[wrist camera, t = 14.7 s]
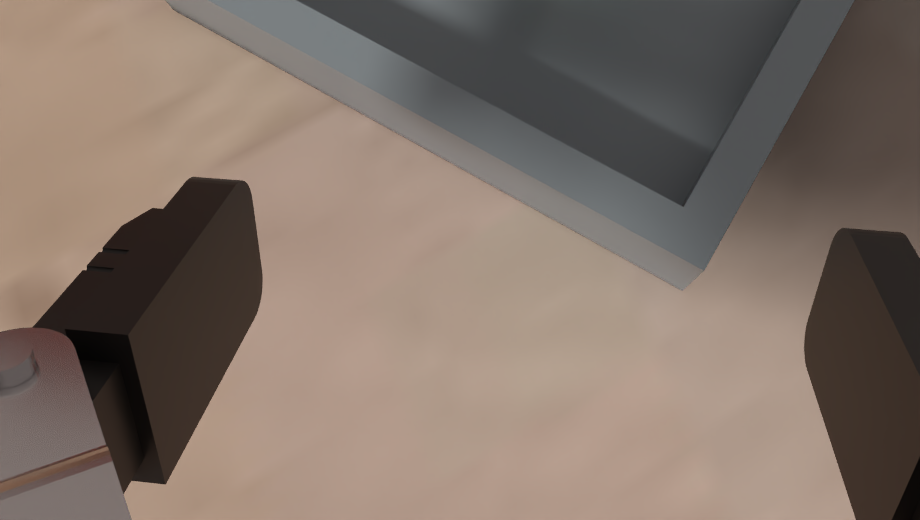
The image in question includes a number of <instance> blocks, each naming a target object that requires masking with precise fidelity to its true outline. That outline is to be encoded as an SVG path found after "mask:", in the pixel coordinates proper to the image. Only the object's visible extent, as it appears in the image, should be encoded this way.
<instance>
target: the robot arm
mask: <svg viewBox="0 0 920 520" xmlns="http://www.w3.org/2000/svg"><path fill="white" fill-rule="evenodd" d="M261 294H262V268H261V260H260V253H259V245H258V238H257V230H256V223H255V215H254V208H253V200H252V194H251V191H250V188H249V186H248V184H247V183H246V182H245V181H240V180H227V179H214V178H201V177H191V178H189V179H188V180H187V181H186V182H185V183H184V185H183V186H182V187H181V188H180V189H179V191H178V192H177V193H176V194H175V196H174V197H173V198H172V199H171V200H170V202H169V203H168V204H167V205H166V206H165V208H164V209H157V208H152V209H150V210H148V211H147V212H145V213H143V214H142V215H140V216H138V217H136V218H135V219H133V220H131V221H129V222H128V223H126V224H124V225H123V226H121V227H120V228H119V230H118V231H117V232H116V233H115V234H114V235H113V236H112V238H111V239H110V240H109V241H108V242H107V243H106V244H105V246H104V247H103V251H102V252H98V254H97V255H96V256H95V257H94V258H93V259H92V260H91V262H90V263H89V264H88V265H87V270H86V271H85V270H83V271H82V272H81V273H80V274H79V275H78V276H77V277H76V279H75V280H74V281H73V282H72V283H71V284H70V285H69V287H68V288H67V289H66V290H65V291H64V292H63V293H62V295H61V296H60V297H59V298H58V299H57V300H56V301H55V303H54V304H53V305H52V306H51V307H50V308H49V309H48V311H47V312H46V313H45V314H44V315H43V316H42V317H41V318H40V320H39V321H38V322H37V323H36V324H35V325H34V326H33V328H19V329H12V330H7V331H3V332H0V520H132V519H131V516H130V513H129V510H128V507H127V504H126V501H125V498H124V495H123V494H124V492H125V491H126V489H127V487H128V485H129V484H130V482H131V481H140V482H149V483H158V484H166V483H167V481H168V479H169V477H170V475H171V473H172V471H173V470H174V468H175V466H176V464H177V462H178V460H179V458H180V457H181V455H182V453H183V451H184V449H185V447H186V445H187V443H188V442H189V440H190V438H191V436H192V434H193V432H194V430H195V428H196V427H197V425H198V423H199V421H200V419H201V417H202V415H203V414H204V412H205V410H206V408H207V406H208V404H209V402H210V400H211V399H212V397H213V395H214V393H215V391H216V389H217V387H218V385H219V384H220V382H221V380H222V378H223V376H224V374H225V372H226V370H227V369H228V367H229V365H230V363H231V361H232V359H233V357H234V356H235V354H236V352H237V350H238V348H239V346H240V344H241V342H242V341H243V339H244V337H245V335H246V333H247V331H248V329H249V327H250V326H251V324H252V322H253V320H254V318H255V316H256V314H257V311H258V308H259V305H260V300H261ZM804 352H805V362H806V367H807V371H808V374H809V377H810V380H811V383H812V386H813V389H814V392H815V395H816V398H817V401H818V404H819V407H820V411H821V414H822V417H823V420H824V423H825V426H826V429H827V432H828V435H829V438H830V441H831V444H832V447H833V450H834V454H835V457H836V460H837V463H838V466H839V469H840V472H841V475H842V478H843V481H844V484H845V487H846V490H847V493H848V496H849V500H850V503H851V506H852V509H853V512H854V515H855V518H856V520H920V258H919V257H918V255H917V253H916V251H915V250H914V248H913V246H912V245H911V243H910V241H909V240H908V238H907V237H906V235H904V234H903V233H900V232H888V231H875V230H862V229H849V228H842V229H840V230H839V231H838V232H837V233H836V235H835V236H834V238H833V241H832V243H831V246H830V250H829V253H828V256H827V259H826V263H825V266H824V269H823V272H822V276H821V279H820V282H819V286H818V289H817V292H816V295H815V299H814V302H813V305H812V309H811V312H810V315H809V318H808V322H807V326H806V332H805V343H804Z"/></svg>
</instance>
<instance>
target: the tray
mask: <svg viewBox="0 0 920 520" xmlns="http://www.w3.org/2000/svg"><path fill="white" fill-rule="evenodd" d="M854 1H855V0H166V2H167V3H168V4H169V5H170V6H171V8H172V9H173V10H175V11H177V12H178V13H180V14H182V15H184V16H186V17H187V18H189V19H191V20H193V21H195V22H197V23H198V24H200V25H202V26H204V27H206V28H207V29H209V30H211V31H213V32H215V33H216V34H218V35H220V36H222V37H224V38H225V39H227V40H229V41H231V42H233V43H235V44H236V45H238V46H240V47H242V48H244V49H245V50H247V51H249V52H251V53H253V54H254V55H256V56H258V57H260V58H262V59H264V60H265V61H267V62H269V63H271V64H273V65H274V66H276V67H278V68H280V69H282V70H283V71H285V72H287V73H289V74H291V75H293V76H294V77H296V78H298V79H300V80H302V81H303V82H305V83H307V84H309V85H311V86H312V87H314V88H316V89H318V90H320V91H321V92H323V93H325V94H327V95H329V96H331V97H332V98H334V99H336V100H338V101H340V102H341V103H343V104H345V105H347V106H349V107H350V108H352V109H354V110H356V111H358V112H360V113H361V114H363V115H365V116H367V117H369V118H370V119H372V120H374V121H376V122H378V123H379V124H381V125H383V126H385V127H387V128H388V129H390V130H392V131H394V132H396V133H398V134H399V135H401V136H403V137H405V138H407V139H408V140H410V141H412V142H414V143H416V144H417V145H419V146H421V147H423V148H425V149H427V150H428V151H430V152H432V153H434V154H436V155H437V156H439V157H441V158H443V159H445V160H446V161H448V162H450V163H452V164H454V165H456V166H457V167H459V168H461V169H463V170H465V171H466V172H468V173H470V174H472V175H474V176H475V177H477V178H479V179H481V180H483V181H484V182H486V183H488V184H490V185H492V186H494V187H495V188H497V189H499V190H501V191H503V192H504V193H506V194H508V195H510V196H512V197H513V198H515V199H517V200H519V201H521V202H523V203H524V204H526V205H528V206H530V207H532V208H533V209H535V210H537V211H539V212H541V213H542V214H544V215H546V216H548V217H550V218H552V219H553V220H555V221H557V222H559V223H561V224H562V225H564V226H566V227H568V228H570V229H571V230H573V231H575V232H577V233H579V234H580V235H582V236H584V237H586V238H588V239H590V240H591V241H593V242H595V243H597V244H599V245H600V246H602V247H604V248H606V249H608V250H609V251H611V252H613V253H615V254H617V255H619V256H620V257H622V258H624V259H626V260H628V261H629V262H631V263H633V264H635V265H637V266H638V267H640V268H642V269H644V270H646V271H648V272H649V273H651V274H653V275H655V276H657V277H658V278H660V279H662V280H664V281H666V282H667V283H669V284H671V285H673V286H675V287H676V288H678V289H680V290H684V289H685V288H686V287H687V286H688V285H689V284H690V283H691V282H692V281H693V280H694V279H696V278H697V277H698V276H699V275H700V274H701V273H702V272H703V271H704V270H705V268H706V266H707V264H708V263H709V261H710V259H711V257H712V255H713V254H714V252H715V250H716V248H717V247H718V245H719V243H720V241H721V239H722V238H723V236H724V234H725V232H726V230H727V229H728V227H729V225H730V223H731V221H732V220H733V218H734V216H735V214H736V212H737V211H738V209H739V207H740V205H741V203H742V202H743V200H744V198H745V196H746V194H747V193H748V191H749V189H750V187H751V185H752V184H753V182H754V180H755V178H756V176H757V175H758V173H759V171H760V169H761V168H762V166H763V164H764V162H765V160H766V159H767V157H768V155H769V153H770V151H771V150H772V148H773V146H774V144H775V142H776V141H777V139H778V137H779V135H780V133H781V132H782V130H783V128H784V126H785V124H786V123H787V121H788V119H789V117H790V115H791V114H792V112H793V110H794V108H795V106H796V105H797V103H798V101H799V99H800V97H801V96H802V94H803V92H804V90H805V89H806V87H807V85H808V83H809V81H810V80H811V78H812V76H813V74H814V72H815V71H816V69H817V67H818V65H819V63H820V62H821V60H822V58H823V56H824V54H825V53H826V51H827V49H828V47H829V45H830V44H831V42H832V40H833V38H834V36H835V35H836V33H837V31H838V29H839V27H840V26H841V24H842V22H843V20H844V18H845V17H846V15H847V13H848V11H849V10H850V8H851V6H852V4H853V2H854Z"/></svg>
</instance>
